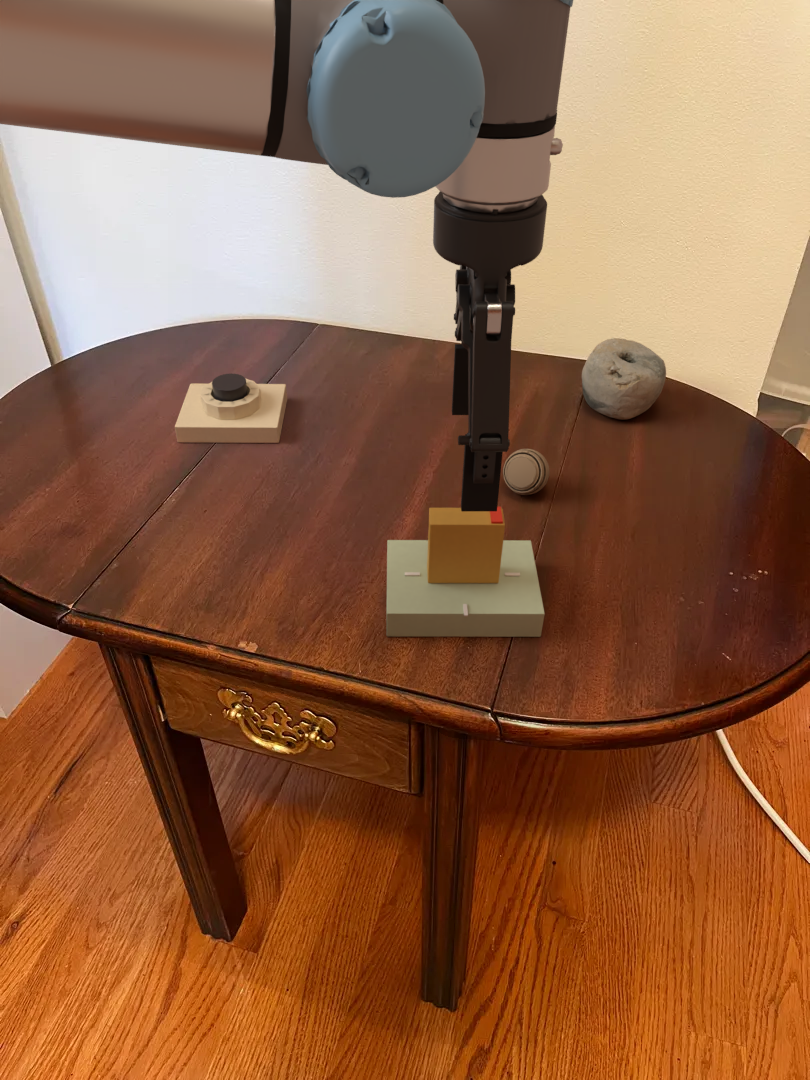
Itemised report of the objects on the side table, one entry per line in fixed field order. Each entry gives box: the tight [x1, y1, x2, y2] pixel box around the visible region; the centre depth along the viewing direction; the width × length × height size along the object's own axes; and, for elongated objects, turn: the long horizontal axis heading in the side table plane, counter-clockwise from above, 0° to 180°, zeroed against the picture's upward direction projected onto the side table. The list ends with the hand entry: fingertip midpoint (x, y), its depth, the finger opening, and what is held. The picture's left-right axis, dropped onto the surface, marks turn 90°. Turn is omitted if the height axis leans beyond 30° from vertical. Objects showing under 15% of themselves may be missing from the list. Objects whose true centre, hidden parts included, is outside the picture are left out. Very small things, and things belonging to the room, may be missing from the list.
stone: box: [581, 337, 667, 420], centre depth 104 cm, size 10×10×10 cm
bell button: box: [211, 372, 248, 402], centre depth 100 cm, size 4×4×2 cm
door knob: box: [502, 448, 550, 496], centre depth 91 cm, size 5×5×5 cm
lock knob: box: [427, 506, 506, 583], centre depth 75 cm, size 6×2×7 cm, turn 90°
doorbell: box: [174, 377, 288, 444], centre depth 101 cm, size 12×10×4 cm
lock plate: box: [385, 539, 546, 638], centre depth 79 cm, size 14×11×3 cm
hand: (472, 457), depth 69 cm, fingers open, 13 cm apart
